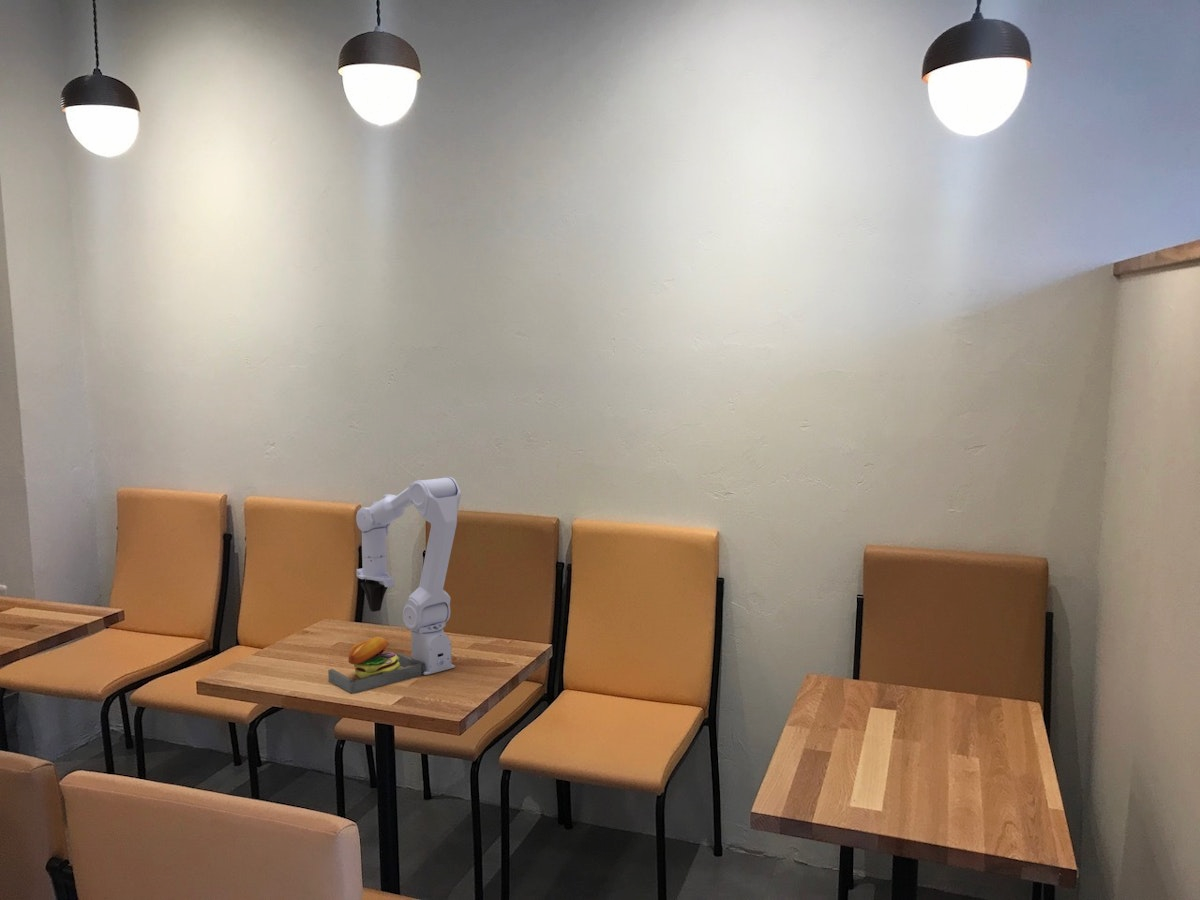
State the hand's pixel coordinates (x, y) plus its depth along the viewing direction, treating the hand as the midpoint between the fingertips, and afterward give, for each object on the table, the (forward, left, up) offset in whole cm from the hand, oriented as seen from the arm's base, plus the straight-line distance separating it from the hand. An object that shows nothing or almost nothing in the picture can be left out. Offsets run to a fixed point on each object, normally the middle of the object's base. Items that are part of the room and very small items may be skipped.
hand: (375, 610), depth 228 cm
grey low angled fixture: (-19, +11, -9) cm, 24 cm away
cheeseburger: (-18, +11, -10) cm, 23 cm away
